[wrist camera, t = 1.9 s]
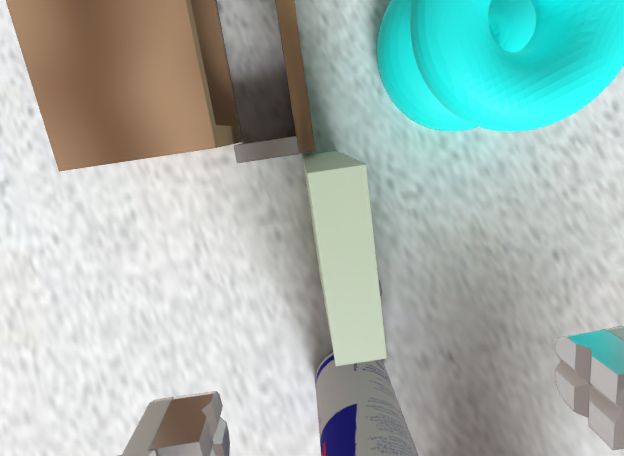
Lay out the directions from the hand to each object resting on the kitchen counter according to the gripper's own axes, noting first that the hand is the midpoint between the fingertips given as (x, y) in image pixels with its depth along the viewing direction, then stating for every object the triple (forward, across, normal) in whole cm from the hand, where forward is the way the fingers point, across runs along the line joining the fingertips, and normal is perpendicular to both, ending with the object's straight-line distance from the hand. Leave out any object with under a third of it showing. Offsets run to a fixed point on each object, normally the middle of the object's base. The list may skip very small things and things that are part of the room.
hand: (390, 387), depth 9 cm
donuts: (+19, -10, -10) cm, 23 cm away
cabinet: (+19, +6, -11) cm, 22 cm away
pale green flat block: (+19, 0, 0) cm, 19 cm away
